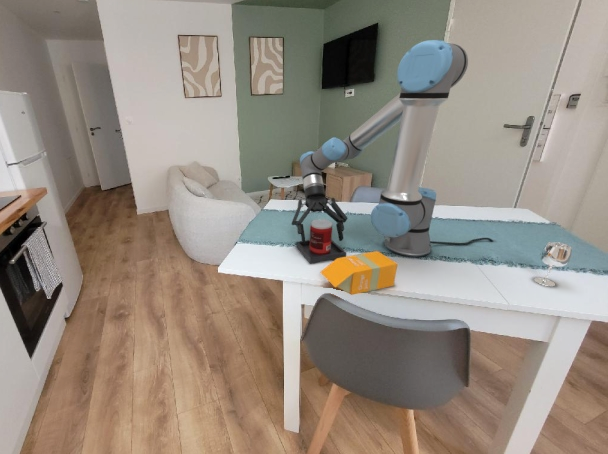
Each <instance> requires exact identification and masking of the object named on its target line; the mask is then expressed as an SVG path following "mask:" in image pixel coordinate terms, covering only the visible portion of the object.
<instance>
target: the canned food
mask: <svg viewBox="0 0 608 454" xmlns="http://www.w3.org/2000/svg"><path fill="white" fill-rule="evenodd" d="M332 236H333V222H332V221H330V220H327V219H322V218H319V219H314V220H312V221H310V227H309V240H310V251H311V252H312V253H314V254H317V255H325V254H328V253H329V252H330V250H331V240H332V238H333V237H332Z"/></svg>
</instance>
